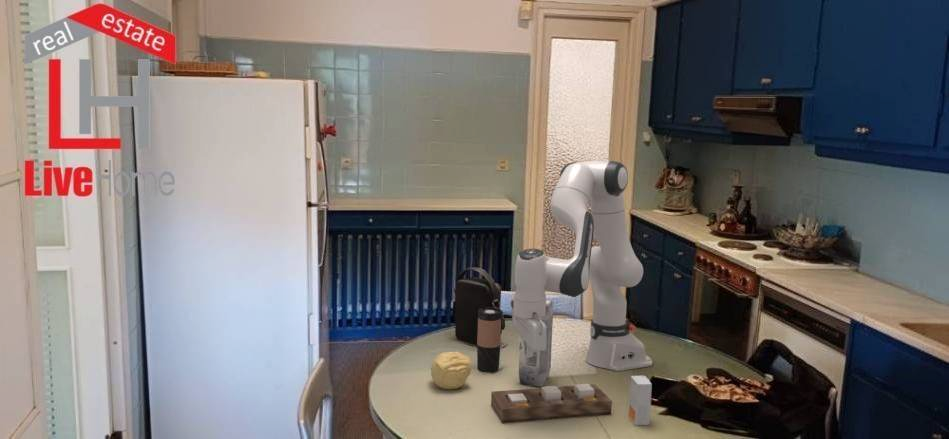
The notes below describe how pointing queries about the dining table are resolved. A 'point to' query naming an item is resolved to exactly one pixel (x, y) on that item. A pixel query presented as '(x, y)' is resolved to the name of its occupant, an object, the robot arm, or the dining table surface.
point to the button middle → (550, 393)
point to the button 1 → (517, 398)
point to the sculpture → (450, 370)
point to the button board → (549, 405)
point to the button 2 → (583, 391)
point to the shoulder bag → (473, 305)
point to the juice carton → (537, 355)
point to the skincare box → (640, 400)
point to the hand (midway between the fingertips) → (528, 355)
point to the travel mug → (488, 339)
